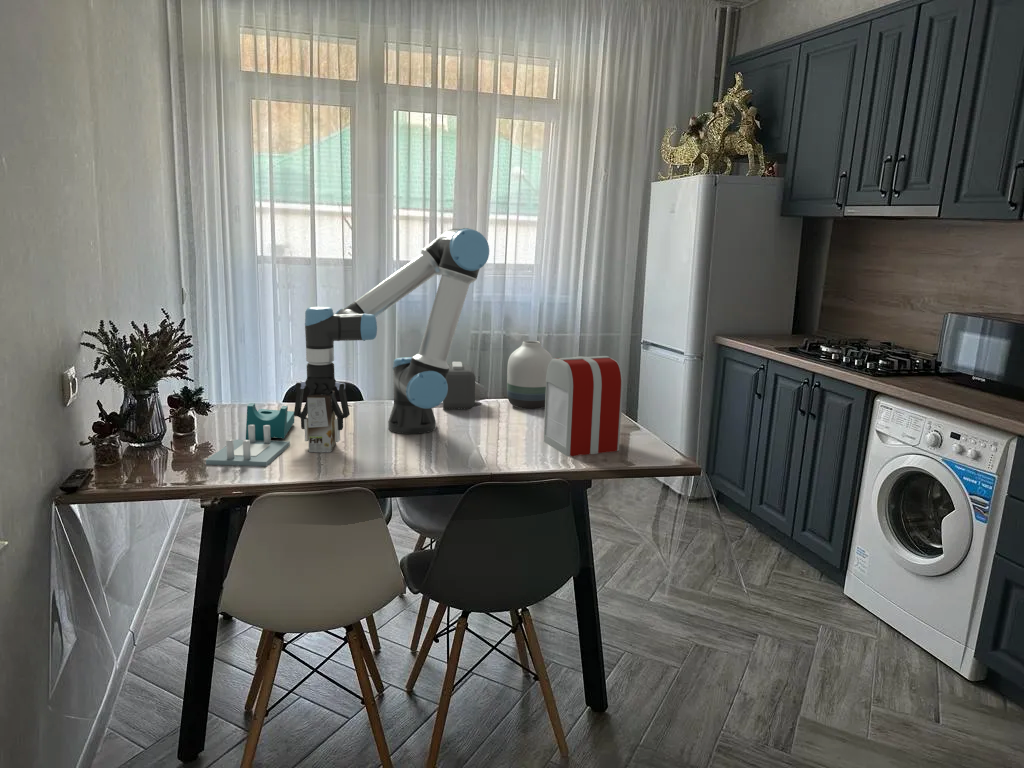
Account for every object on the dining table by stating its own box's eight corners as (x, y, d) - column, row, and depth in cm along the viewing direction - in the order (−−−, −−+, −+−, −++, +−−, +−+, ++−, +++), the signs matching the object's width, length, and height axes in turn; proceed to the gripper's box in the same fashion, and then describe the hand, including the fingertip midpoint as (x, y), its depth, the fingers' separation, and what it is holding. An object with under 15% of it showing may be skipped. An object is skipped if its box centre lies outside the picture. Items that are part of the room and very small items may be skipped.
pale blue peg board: (290, 445, 203) (289, 424, 201) (266, 466, 184) (265, 443, 183) (235, 443, 203) (233, 422, 202) (206, 464, 184) (204, 441, 183)
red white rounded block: (542, 440, 214) (545, 354, 209) (592, 436, 221) (597, 351, 215) (567, 456, 199) (571, 363, 194) (620, 450, 206) (626, 360, 201)
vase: (553, 412, 249) (556, 346, 244) (505, 411, 249) (507, 344, 244) (551, 401, 266) (553, 339, 261) (507, 400, 266) (508, 338, 261)
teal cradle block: (283, 442, 207) (285, 408, 205) (245, 440, 205) (247, 405, 203) (293, 426, 225) (295, 395, 223) (259, 424, 223) (260, 392, 221)
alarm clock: (442, 400, 263) (442, 359, 260) (472, 400, 264) (473, 360, 261) (443, 411, 247) (443, 368, 244) (475, 411, 248) (475, 368, 245)
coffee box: (331, 452, 197) (330, 397, 194) (308, 452, 196) (306, 397, 193) (336, 443, 206) (335, 390, 203) (314, 443, 205) (312, 390, 202)
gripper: (360, 361, 200) (361, 437, 204) (287, 359, 200) (290, 435, 204) (354, 365, 192) (355, 445, 197) (278, 363, 192) (282, 443, 197)
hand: (322, 440), depth 201 cm, fingers open, 8 cm apart
